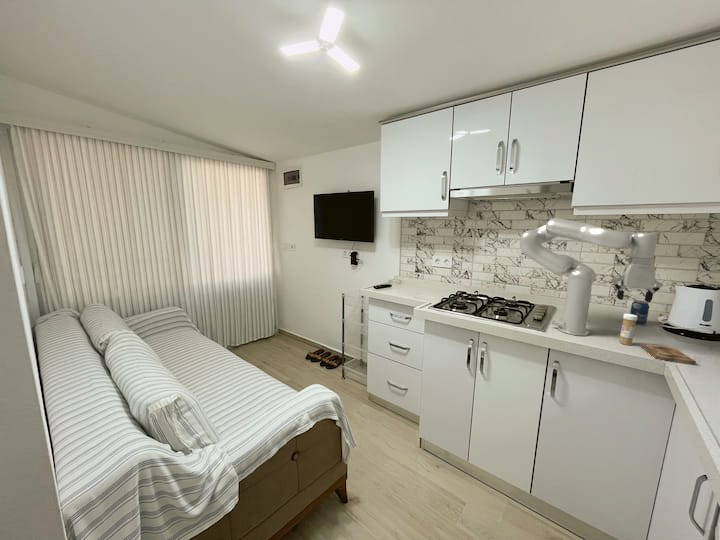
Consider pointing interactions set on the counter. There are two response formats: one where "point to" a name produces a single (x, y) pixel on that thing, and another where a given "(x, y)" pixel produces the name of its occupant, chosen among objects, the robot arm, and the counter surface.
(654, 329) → the counter surface
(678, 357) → the plinth
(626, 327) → the sprinkles bottle
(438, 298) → the counter surface
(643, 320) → the soda can
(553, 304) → the counter surface
